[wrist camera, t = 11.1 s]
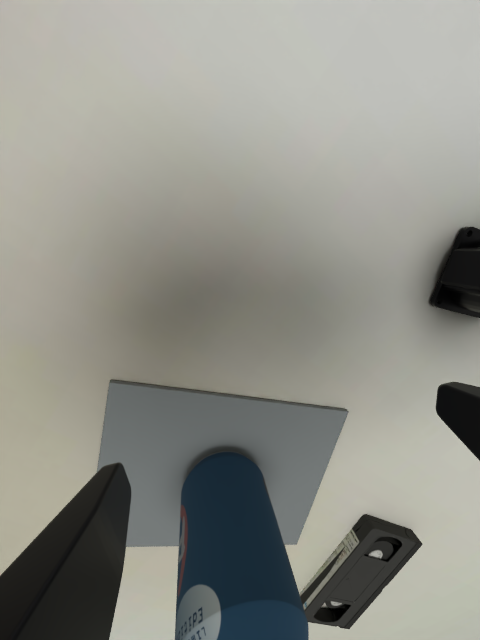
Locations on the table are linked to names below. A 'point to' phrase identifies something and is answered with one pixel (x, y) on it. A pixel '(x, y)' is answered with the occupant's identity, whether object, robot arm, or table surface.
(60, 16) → the table surface
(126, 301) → the table surface
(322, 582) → the vhs tape
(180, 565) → the soda can
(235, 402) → the desk mat
